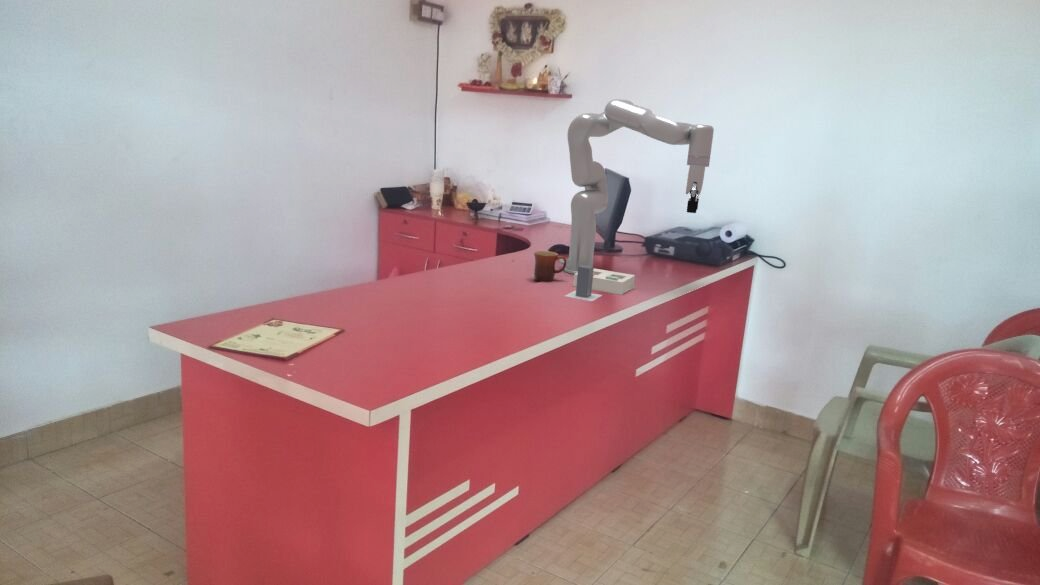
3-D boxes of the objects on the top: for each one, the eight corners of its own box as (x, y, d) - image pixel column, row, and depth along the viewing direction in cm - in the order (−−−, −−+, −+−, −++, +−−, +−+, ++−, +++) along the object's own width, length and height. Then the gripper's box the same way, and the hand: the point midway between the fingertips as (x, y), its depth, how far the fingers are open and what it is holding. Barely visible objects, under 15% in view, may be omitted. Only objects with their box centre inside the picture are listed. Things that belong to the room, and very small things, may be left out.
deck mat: (563, 297, 237) (563, 296, 237) (575, 291, 246) (575, 290, 246) (591, 303, 233) (591, 301, 233) (602, 296, 242) (602, 295, 242)
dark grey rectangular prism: (575, 295, 239) (578, 266, 236) (580, 293, 242) (582, 264, 240) (586, 297, 237) (589, 268, 234) (591, 295, 240) (593, 266, 238)
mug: (530, 282, 255) (532, 254, 253) (532, 277, 264) (534, 250, 261) (564, 285, 254) (566, 257, 252) (565, 280, 263) (567, 252, 260)
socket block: (572, 287, 252) (574, 271, 250) (587, 280, 264) (588, 265, 262) (621, 296, 244) (622, 280, 243) (633, 288, 256) (635, 273, 255)
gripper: (688, 159, 254) (682, 207, 258) (685, 161, 238) (679, 212, 242) (710, 161, 252) (703, 209, 256) (708, 163, 236) (702, 215, 240)
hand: (692, 210), depth 249 cm, fingers open, 9 cm apart
